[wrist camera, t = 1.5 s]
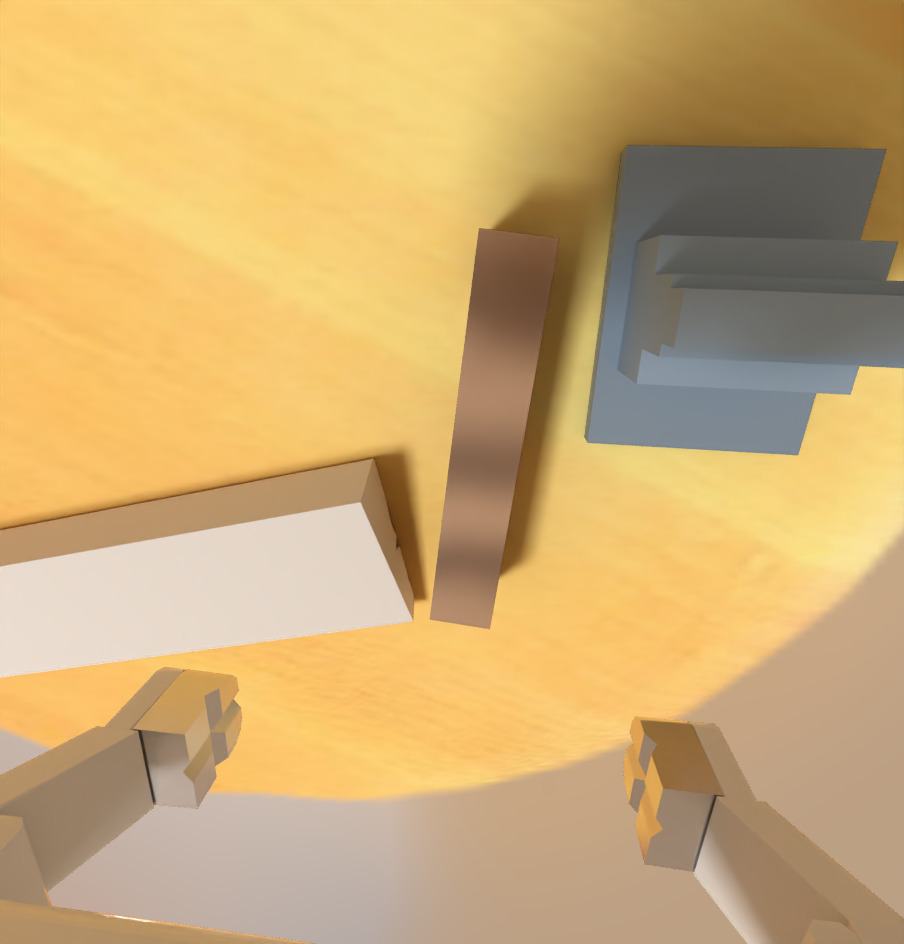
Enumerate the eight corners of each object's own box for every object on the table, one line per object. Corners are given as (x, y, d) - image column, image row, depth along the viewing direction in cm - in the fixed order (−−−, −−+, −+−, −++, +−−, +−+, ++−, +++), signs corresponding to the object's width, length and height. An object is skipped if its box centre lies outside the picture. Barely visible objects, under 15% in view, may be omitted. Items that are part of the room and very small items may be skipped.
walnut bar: (483, 238, 26) (479, 228, 21) (549, 247, 26) (559, 238, 21) (440, 572, 33) (429, 619, 28) (491, 580, 33) (489, 628, 28)
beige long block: (419, 566, 36) (374, 452, 31) (413, 621, 32) (360, 502, 27) (22, 627, 42) (-77, 540, 36) (-24, 680, 38) (-144, 592, 32)
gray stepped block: (621, 151, 24) (689, 75, 15) (867, 155, 23) (1086, 77, 14) (584, 436, 29) (619, 500, 20) (786, 448, 28) (913, 520, 19)
